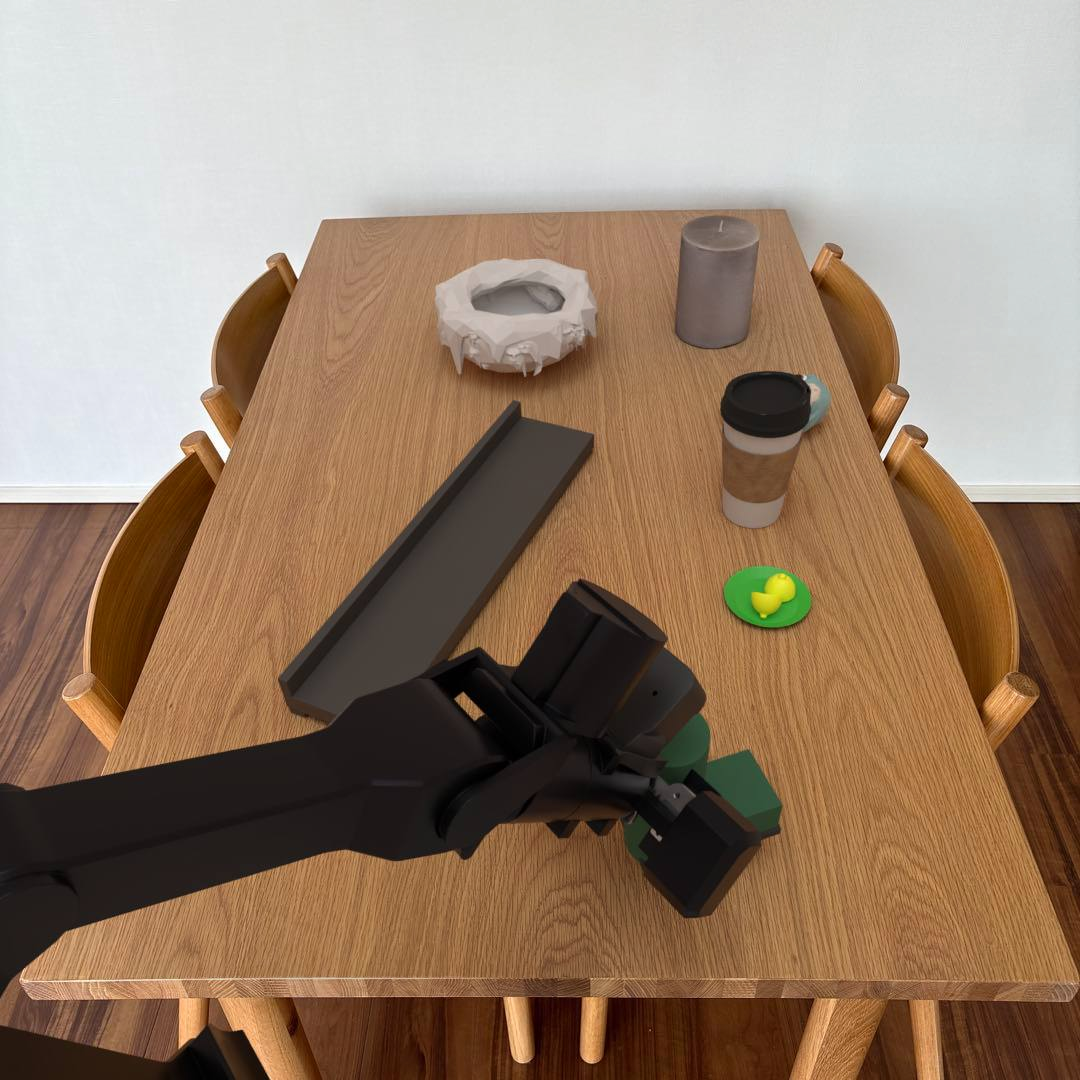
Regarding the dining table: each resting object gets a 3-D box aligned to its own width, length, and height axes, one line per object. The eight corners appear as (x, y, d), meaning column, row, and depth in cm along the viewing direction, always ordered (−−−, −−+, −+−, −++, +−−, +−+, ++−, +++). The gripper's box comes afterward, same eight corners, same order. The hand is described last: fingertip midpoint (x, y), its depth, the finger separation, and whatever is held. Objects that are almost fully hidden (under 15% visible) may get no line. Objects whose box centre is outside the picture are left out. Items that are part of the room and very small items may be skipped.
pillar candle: (686, 307, 131) (693, 200, 121) (756, 318, 128) (770, 210, 118) (665, 342, 125) (670, 232, 114) (738, 355, 122) (751, 244, 111)
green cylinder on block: (641, 881, 66) (648, 778, 58) (612, 816, 70) (615, 711, 62) (780, 834, 69) (806, 728, 60) (745, 773, 73) (765, 666, 64)
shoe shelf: (386, 750, 79) (377, 717, 76) (288, 711, 83) (276, 678, 80) (594, 451, 108) (594, 419, 105) (515, 431, 112) (513, 399, 109)
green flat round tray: (805, 639, 86) (809, 618, 84) (716, 622, 88) (719, 601, 86) (814, 579, 92) (819, 557, 90) (731, 564, 94) (733, 543, 92)
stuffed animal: (717, 355, 112) (823, 340, 109) (723, 406, 116) (826, 392, 114) (720, 408, 104) (835, 393, 101) (727, 460, 108) (837, 447, 106)
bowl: (477, 306, 134) (471, 238, 127) (618, 327, 128) (619, 257, 121) (412, 386, 120) (401, 314, 113) (567, 413, 114) (565, 340, 107)
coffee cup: (794, 540, 96) (816, 417, 86) (708, 533, 97) (721, 412, 87) (791, 487, 102) (812, 366, 92) (711, 481, 103) (723, 362, 93)
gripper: (758, 762, 46) (861, 769, 58) (521, 559, 57) (649, 601, 69) (632, 939, 48) (757, 910, 60) (426, 709, 59) (567, 724, 71)
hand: (679, 774), depth 65 cm, fingers closed on green cylinder on block, 5 cm apart
